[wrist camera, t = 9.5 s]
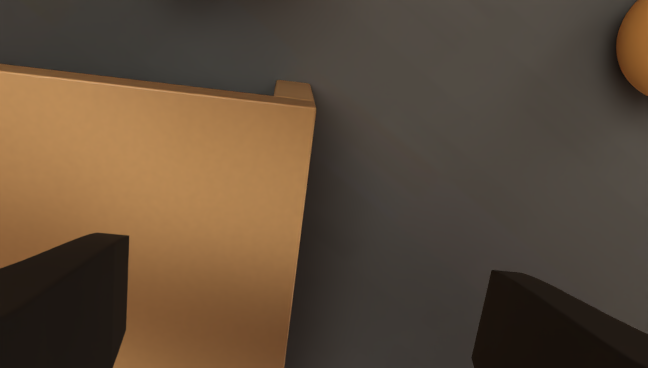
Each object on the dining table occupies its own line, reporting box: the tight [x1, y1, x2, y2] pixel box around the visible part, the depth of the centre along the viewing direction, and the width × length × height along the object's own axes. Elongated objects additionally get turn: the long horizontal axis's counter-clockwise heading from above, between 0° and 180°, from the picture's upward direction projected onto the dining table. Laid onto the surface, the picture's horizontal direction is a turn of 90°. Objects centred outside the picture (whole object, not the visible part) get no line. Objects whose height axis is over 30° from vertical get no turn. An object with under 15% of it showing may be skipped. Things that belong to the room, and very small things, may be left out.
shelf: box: [0, 64, 316, 368], centre depth 19 cm, size 12×18×6 cm, turn 83°
